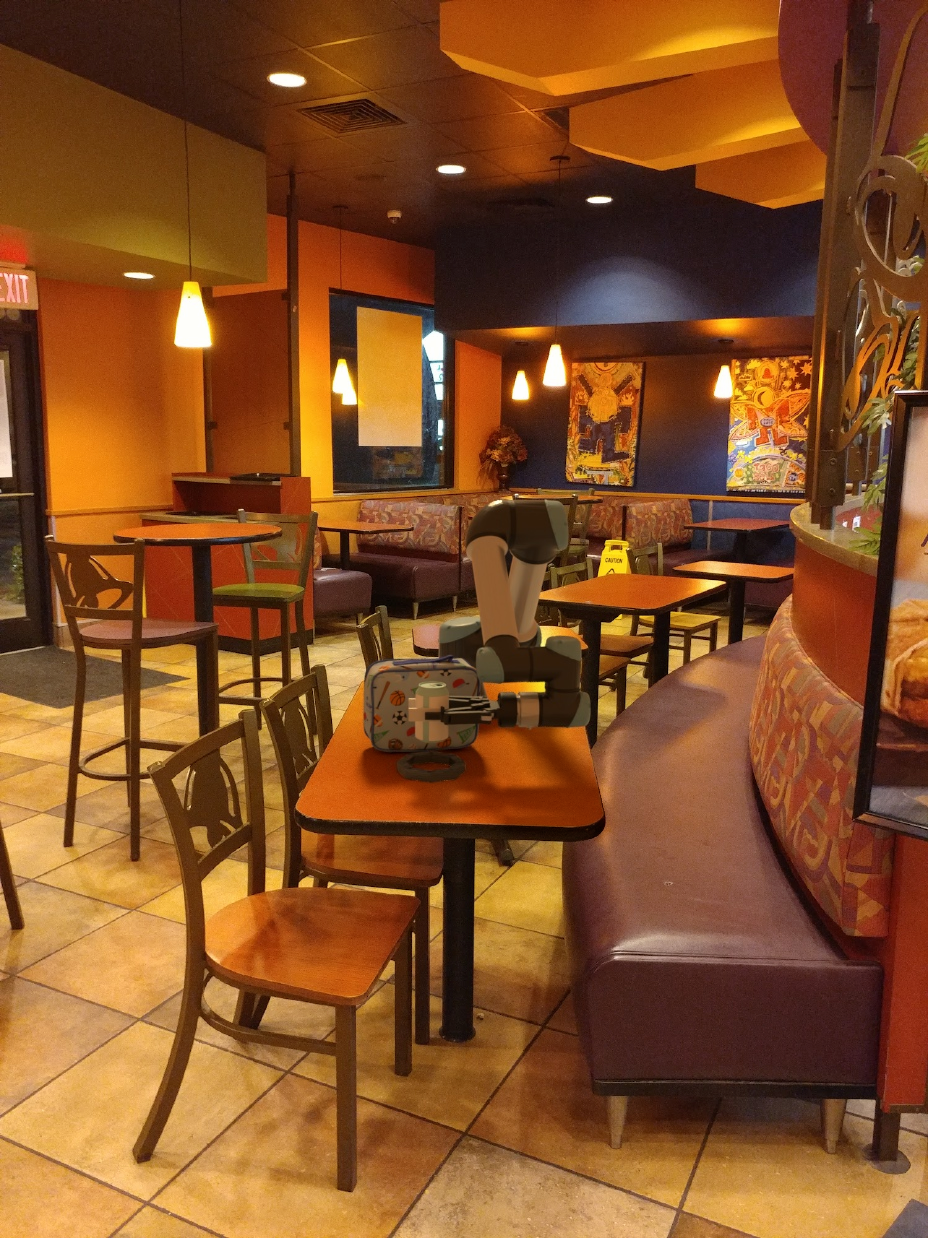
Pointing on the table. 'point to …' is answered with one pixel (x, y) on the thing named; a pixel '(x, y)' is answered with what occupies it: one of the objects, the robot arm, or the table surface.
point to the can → (431, 698)
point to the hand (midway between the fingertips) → (408, 709)
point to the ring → (431, 775)
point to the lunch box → (399, 682)
